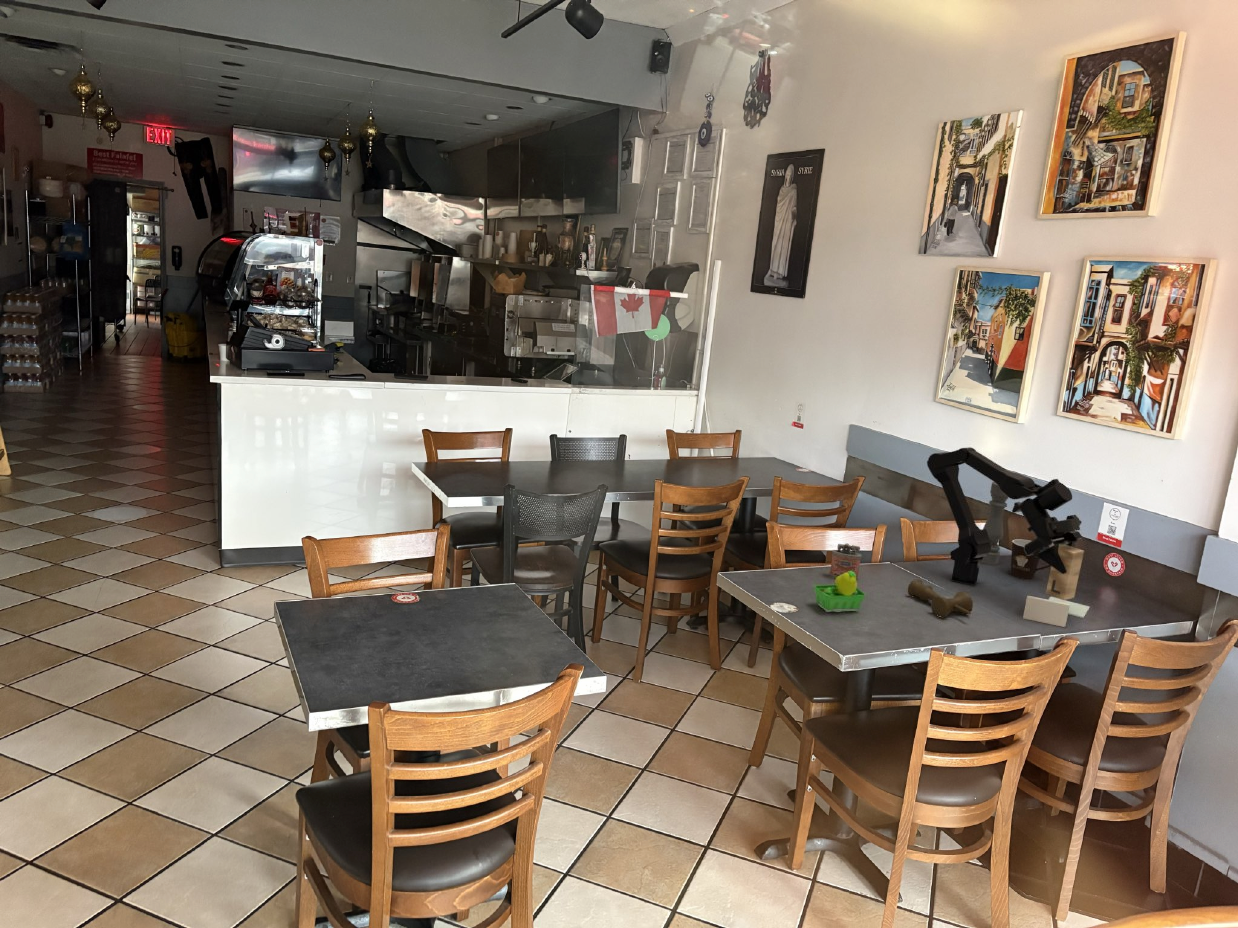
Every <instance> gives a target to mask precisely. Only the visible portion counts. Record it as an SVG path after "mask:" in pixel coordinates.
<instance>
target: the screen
mask: <svg viewBox="0 0 1238 928" xmlns="http://www.w3.org/2000/svg"><path fill="white" fill-rule="evenodd" d="M1069 607H1070V604H1067V603H1062V602H1057V601H1052V600H1048V599H1047V598H1046V599H1045V598H1041V597H1037V596H1032V595H1026V600H1025V605H1024V611H1023V615H1022V619H1023V620H1029V621H1034V622H1038V623H1044V624H1047V625H1053V626H1057V627H1063V628H1066V624H1067V620H1068V616H1069V614H1068V611H1069Z"/></svg>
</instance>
